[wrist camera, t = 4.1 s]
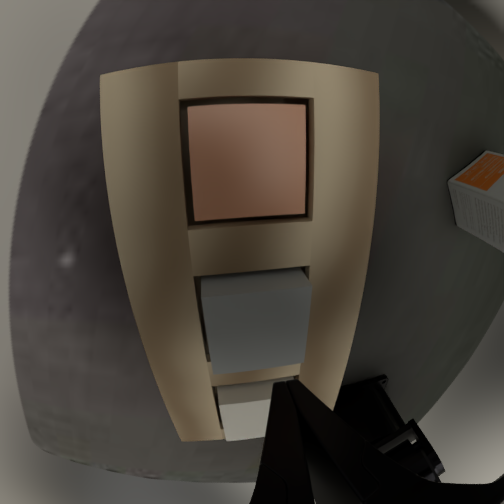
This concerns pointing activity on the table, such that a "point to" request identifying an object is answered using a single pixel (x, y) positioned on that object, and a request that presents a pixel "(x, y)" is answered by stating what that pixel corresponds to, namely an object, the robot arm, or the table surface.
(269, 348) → the grey key
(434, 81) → the table surface
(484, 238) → the skincare box
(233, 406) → the offwhite key
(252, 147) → the terracotta key
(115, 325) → the table surface
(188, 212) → the wooden slotted tray
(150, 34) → the table surface
